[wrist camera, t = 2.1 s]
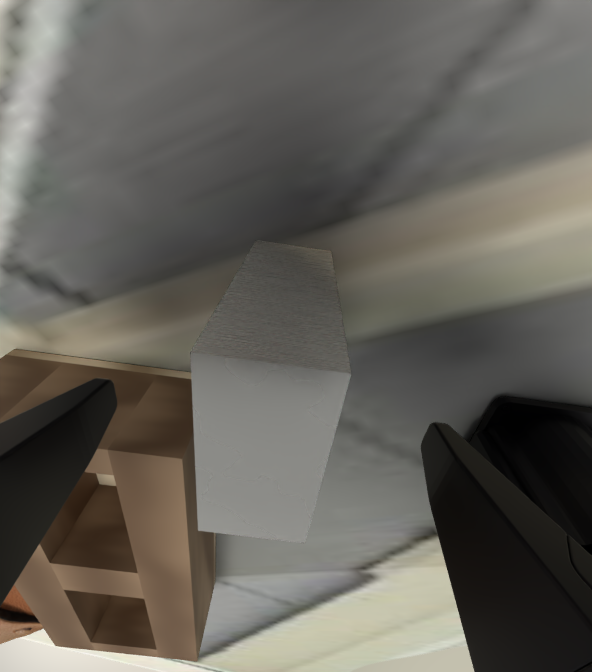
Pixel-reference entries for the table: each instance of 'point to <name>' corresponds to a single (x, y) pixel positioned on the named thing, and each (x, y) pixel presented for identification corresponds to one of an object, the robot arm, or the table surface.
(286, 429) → the grey block
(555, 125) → the table surface
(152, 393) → the post block
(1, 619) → the sunglasses case
